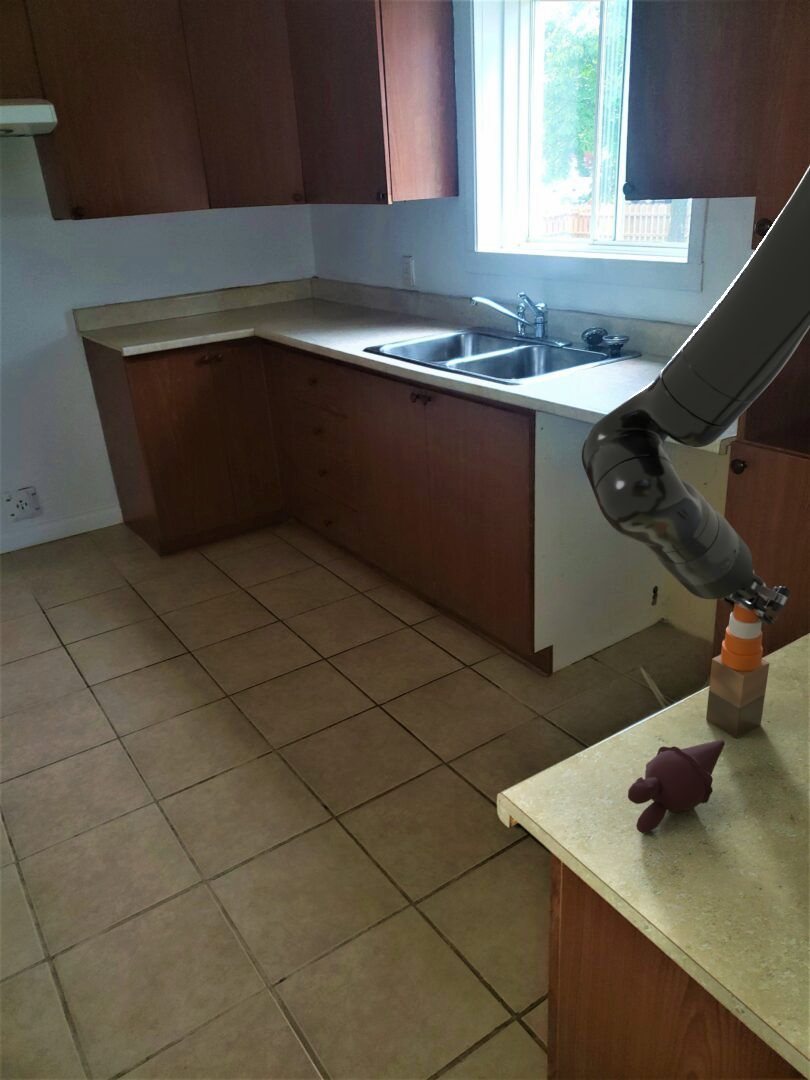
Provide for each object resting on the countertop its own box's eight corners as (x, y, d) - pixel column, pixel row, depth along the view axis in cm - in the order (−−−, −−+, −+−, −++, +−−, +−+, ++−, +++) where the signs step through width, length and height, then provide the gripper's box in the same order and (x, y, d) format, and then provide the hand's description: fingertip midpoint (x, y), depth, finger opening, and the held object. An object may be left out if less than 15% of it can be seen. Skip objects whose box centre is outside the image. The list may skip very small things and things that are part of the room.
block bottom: (761, 724, 99) (765, 694, 97) (736, 739, 97) (740, 708, 95) (730, 706, 102) (733, 676, 100) (705, 719, 100) (708, 689, 98)
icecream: (689, 705, 93) (599, 774, 86) (747, 723, 87) (655, 798, 80) (701, 757, 95) (614, 828, 88) (758, 778, 89) (669, 856, 82)
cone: (769, 662, 95) (780, 587, 91) (744, 675, 93) (753, 599, 89) (737, 646, 98) (746, 572, 94) (712, 658, 96) (720, 584, 92)
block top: (765, 694, 97) (769, 662, 95) (740, 708, 95) (744, 676, 93) (733, 676, 100) (737, 645, 98) (708, 689, 98) (711, 658, 96)
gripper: (783, 539, 78) (832, 605, 89) (661, 499, 88) (719, 562, 100) (744, 607, 77) (798, 664, 89) (626, 558, 88) (688, 615, 99)
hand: (756, 610), depth 94 cm, fingers closed on cone, 3 cm apart
